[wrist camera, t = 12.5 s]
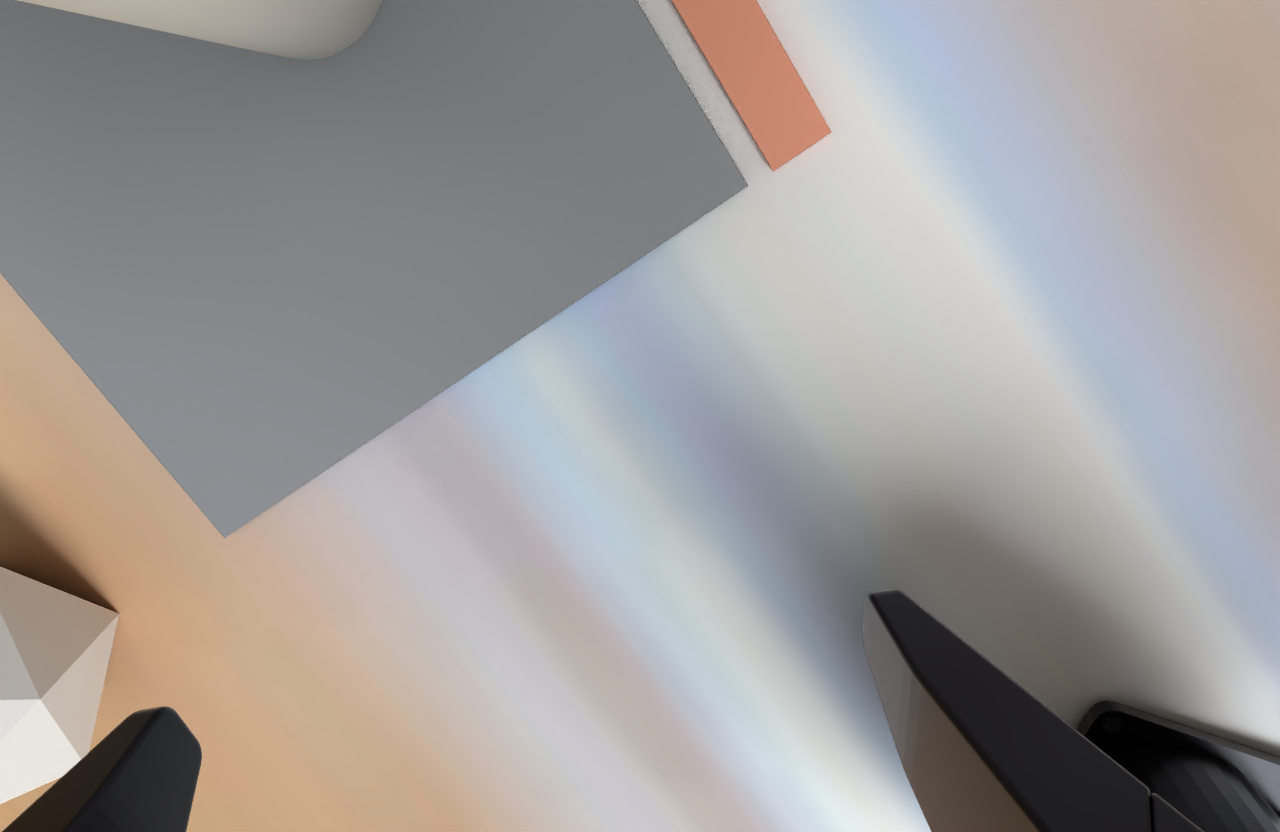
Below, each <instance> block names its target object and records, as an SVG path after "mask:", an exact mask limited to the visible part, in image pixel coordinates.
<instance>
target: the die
mask: <svg viewBox="0 0 1280 832" xmlns="http://www.w3.org/2000/svg"><path fill="white" fill-rule="evenodd" d="M118 617H119V613H116V612H114V611H111V610H109V609H106V608H104V607H101V606H99V605H96V604H94V603H91V602H89V601H86V600H84V599H81V598H78V597H76V596H73V595H71V594H68V593H66V592H63V591H61V590H58V589H56V588H53V587H51V586H48V585H46V584H43V583H41V582H38V581H36V580H33V579H31V578H28V577H25V576H23V575H20V574H18V573H15V572H13V571H10V570H8V569H5V568H3V567H0V804H1V803H4V802H6V801H8V800H10V799H13V798H15V797H17V796H19V795H22V794H24V793H26V792H28V791H31V790H33V789H35V788H37V787H40V786H42V785H44V784H46V783H49V782H51V781H53V780H55V779H58V778H60V777H62V776H64V775H65V774H66V773H67V772H68V771H69V770H70V769H71V768H72V767H73V766H75V765H76V764H77V763H78V762H79V761H80V760H81V759H82V758H83V757H84V756H86V755H87V754H88V753H89V749H90V744H91V740H92V735H93V731H94V726H95V722H96V717H97V713H98V708H99V704H100V699H101V695H102V690H103V685H104V681H105V676H106V672H107V667H108V663H109V658H110V654H111V649H112V645H113V640H114V636H115V631H116V626H117V622H118Z"/></svg>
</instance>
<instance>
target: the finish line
mask: <svg viewBox="0 0 1280 832" xmlns="http://www.w3.org/2000/svg"><path fill="white" fill-rule="evenodd" d="M672 2H673V3H674V5H675V7H676V8H677V10H678V12H679V13H680V15H681V17H682V18H683V20H684V22H685V23H686V25H687V27H688V29H689V30H690V32H691V34H692V35H693V37H694V39H695V40H696V42H697V44H698V45H699V47H700V49H701V50H702V52H703V54H704V55H705V57H706V59H707V61H708V62H709V64H710V66H711V67H712V69H713V71H714V72H715V74H716V76H717V77H718V79H719V81H720V82H721V84H722V86H723V87H724V89H725V91H726V93H727V94H728V96H729V98H730V99H731V101H732V103H733V104H734V106H735V108H736V109H737V111H738V113H739V114H740V116H741V118H742V119H743V121H744V123H745V125H746V126H747V128H748V130H749V131H750V133H751V135H752V136H753V138H754V140H755V141H756V143H757V145H758V146H759V148H760V150H761V151H762V153H763V155H764V157H765V158H766V160H767V162H768V163H769V165H770V167H771V168H772V170H773V171H774V170H776V169H777V168H779V167H780V166H782V165H783V164H785V163H786V162H788V161H789V160H791V159H792V158H794V157H795V156H797V155H798V154H800V153H801V152H803V151H804V150H806V149H807V148H809V147H810V146H812V145H813V144H815V143H816V142H817V141H819V140H820V139H822V138H823V137H825V136H826V135H828V134H829V133H831V131H830V129H829V127H828V125H827V124H826V122H825V120H824V118H823V117H822V115H821V113H820V111H819V110H818V108H817V106H816V104H815V103H814V101H813V99H812V97H811V96H810V94H809V92H808V90H807V88H806V87H805V85H804V83H803V81H802V80H801V78H800V76H799V74H798V73H797V71H796V69H795V67H794V66H793V64H792V62H791V60H790V59H789V57H788V55H787V53H786V52H785V50H784V48H783V46H782V45H781V43H780V41H779V39H778V38H777V36H776V34H775V32H774V31H773V29H772V27H771V25H770V24H769V22H768V20H767V18H766V17H765V15H764V13H763V11H762V10H761V8H760V6H759V4H758V3H757V1H756V0H672Z"/></svg>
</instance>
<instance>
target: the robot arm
mask: <svg viewBox="0 0 1280 832" xmlns="http://www.w3.org/2000/svg"><path fill="white" fill-rule="evenodd" d="M863 642H864V647H865V652H866V655H867V658H868V661H869V664H870V667H871V671H872V674H873V677H874V680H875V683H876V686H877V689H878V692H879V695H880V698H881V702H882V705H883V708H884V711H885V714H886V717H887V720H888V723H889V726H890V729H891V732H892V736H893V739H894V742H895V745H896V748H897V751H898V754H899V757H900V760H901V762H902V765H903V768H904V770H905V773H906V775H907V778H908V780H909V782H910V785H911V787H912V789H913V792H914V794H915V796H916V798H917V800H918V803H919V805H920V807H921V809H922V812H923V814H924V816H925V818H926V821H927V823H928V825H929V827H930V829H931V832H1280V758H1279V757H1276V756H1273V755H1270V754H1267V753H1264V752H1261V751H1258V750H1255V749H1252V748H1250V747H1247V746H1244V745H1241V744H1238V743H1235V742H1232V741H1229V740H1226V739H1223V738H1220V737H1217V736H1214V735H1211V734H1208V733H1205V732H1202V731H1199V730H1196V729H1193V728H1190V727H1187V726H1184V725H1181V724H1179V723H1176V722H1173V721H1170V720H1167V719H1164V718H1161V717H1158V716H1155V715H1152V714H1149V713H1146V712H1143V711H1140V710H1137V709H1134V708H1131V707H1128V706H1125V705H1122V704H1119V703H1116V702H1112V701H1104V702H1099V703H1097V704H1095V705H1094V706H1093V707H1092V708H1091V709H1090V710H1089V712H1088V713H1087V715H1086V716H1085V718H1084V719H1083V721H1082V722H1081V724H1080V725H1079V727H1078V728H1077V730H1075V729H1074V728H1073V727H1072V726H1070V725H1069V724H1068V723H1067V722H1065V721H1064V720H1063V719H1062V718H1060V717H1059V716H1058V715H1056V714H1055V713H1054V712H1053V711H1051V710H1050V709H1049V708H1048V707H1046V706H1045V705H1044V704H1043V703H1041V702H1040V701H1039V700H1038V699H1036V698H1035V697H1034V696H1033V695H1031V694H1030V693H1029V692H1028V691H1026V690H1025V689H1024V688H1023V687H1021V686H1020V685H1019V684H1018V683H1016V682H1015V681H1014V680H1013V679H1011V678H1010V677H1009V676H1008V675H1006V674H1005V673H1004V672H1003V671H1001V670H1000V669H999V668H998V667H996V666H995V665H994V664H993V663H991V662H990V661H989V660H988V659H986V658H985V657H984V656H983V655H981V654H980V653H979V652H978V651H976V650H975V649H974V648H973V647H971V646H970V645H969V644H968V643H966V642H965V641H964V640H962V639H961V638H960V637H959V636H957V635H956V634H955V633H954V632H952V631H951V630H950V629H949V628H947V627H946V626H945V625H944V624H942V623H941V622H940V621H939V620H937V619H936V618H935V617H934V616H932V615H931V614H930V613H929V612H927V611H926V610H925V609H924V608H922V607H921V606H920V605H919V604H917V603H916V602H915V601H914V600H912V599H911V598H910V597H909V596H907V595H906V594H905V593H904V592H902V591H901V590H898V589H886V590H879V591H873V592H869V593H868V594H867V595H866V597H865V600H864V620H863ZM1112 717H1113V718H1115V719H1113V720H1112V721H1110V722H1104V721H1105V720H1106V719H1108V718H1112ZM201 759H202V753H201V747H200V744H199V742H198V740H197V739H196V738H195V736H194V735H193V734H192V732H191V731H190V730H189V728H188V727H187V726H186V724H185V723H184V722H183V720H182V719H181V718H180V716H179V715H178V714H177V712H176V711H175V710H174V709H172V708H170V707H158V708H151V709H145V710H140V711H137V712H135V713H133V714H131V715H130V716H129V717H127V718H126V719H125V720H124V721H123V722H122V723H121V724H120V725H118V726H117V727H116V728H115V729H114V730H113V731H112V732H111V733H110V734H109V735H107V736H106V737H105V738H104V739H103V740H102V741H101V742H100V743H99V744H98V745H97V746H95V747H94V748H93V749H92V750H91V751H90V752H89V753H88V754H87V755H86V756H84V757H83V758H82V759H81V760H80V761H79V762H78V763H77V764H76V765H75V766H73V767H72V768H71V769H70V770H69V771H68V772H67V773H66V774H65V775H64V776H63V777H61V778H60V779H59V780H58V781H57V782H56V783H55V784H54V785H53V786H52V787H50V788H49V789H48V790H47V791H46V792H45V793H44V794H43V795H42V796H41V797H39V798H38V799H37V800H36V801H35V802H34V803H33V804H32V805H31V806H30V807H29V808H27V809H26V810H25V811H24V812H23V813H22V814H21V815H20V816H19V817H18V818H16V819H15V820H14V821H13V822H12V823H11V824H10V825H9V826H8V827H7V828H5V829H4V830H3V831H2V832H186V830H187V825H188V821H189V816H190V812H191V807H192V802H193V798H194V793H195V789H196V784H197V780H198V775H199V770H200V766H201Z"/></svg>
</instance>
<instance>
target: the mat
mask: <svg viewBox="0 0 1280 832" xmlns="http://www.w3.org/2000/svg"><path fill="white" fill-rule="evenodd" d="M747 186H748V185H747V183H746V182H745V180H744V178H743V177H742V175H741V173H740V172H739V170H738V168H737V167H736V165H735V163H734V162H733V160H732V158H731V157H730V155H729V153H728V152H727V150H726V148H725V147H724V145H723V143H722V142H721V140H720V138H719V137H718V135H717V133H716V132H715V130H714V129H713V127H712V125H711V124H710V122H709V120H708V119H707V117H706V115H705V114H704V112H703V110H702V109H701V107H700V105H699V104H698V102H697V100H696V99H695V97H694V95H693V94H692V92H691V90H690V89H689V87H688V85H687V84H686V82H685V80H684V79H683V77H682V76H681V74H680V72H679V71H678V69H677V67H676V66H675V64H674V62H673V61H672V59H671V57H670V56H669V54H668V52H667V51H666V49H665V47H664V46H663V44H662V42H661V41H660V39H659V37H658V36H657V34H656V32H655V31H654V29H653V27H652V26H651V24H650V23H649V21H648V19H647V18H646V16H645V14H644V13H643V11H642V9H641V8H640V6H639V4H638V3H637V1H636V0H382V3H381V5H380V8H379V10H378V12H377V14H376V16H375V18H374V19H373V21H372V23H371V25H370V26H369V27H368V28H367V30H366V31H365V32H364V34H363V35H362V36H361V37H360V38H359V39H358V40H357V41H355V42H354V43H353V44H352V45H350V46H349V47H348V48H346V49H345V50H343V51H341V52H339V53H337V54H335V55H333V56H329V57H326V58H323V59H316V60H296V59H291V58H285V57H281V56H276V55H271V54H267V53H262V52H257V51H253V50H248V49H243V48H239V47H234V46H229V45H224V44H220V43H215V42H210V41H206V40H201V39H196V38H192V37H187V36H182V35H177V34H173V33H168V32H163V31H159V30H154V29H149V28H145V27H140V26H135V25H131V24H126V23H121V22H116V21H112V20H107V19H102V18H98V17H93V16H88V15H84V14H79V13H74V12H69V11H65V10H60V9H55V8H51V7H46V6H41V5H37V4H32V3H27V2H23V1H18V0H0V273H1V275H2V276H3V277H4V278H5V279H6V281H7V282H8V283H9V284H10V285H11V286H12V288H13V289H14V290H15V291H16V292H17V294H18V295H19V296H20V297H21V298H22V299H23V301H24V302H25V303H26V304H27V305H28V307H29V308H30V309H31V310H32V311H33V312H34V314H35V315H36V316H37V317H38V318H39V320H40V321H41V322H42V323H43V324H44V325H45V327H46V328H47V329H48V330H49V331H50V333H51V334H52V335H53V336H54V337H55V338H56V340H57V341H58V342H59V343H60V344H61V345H62V347H63V348H64V349H65V350H66V351H67V353H68V354H69V355H70V356H71V357H72V358H73V360H74V361H75V362H76V363H77V364H78V366H79V367H80V368H81V369H82V370H83V371H84V373H85V374H86V375H87V376H88V377H89V379H90V380H91V381H92V382H93V383H94V384H95V386H96V387H97V388H98V389H99V390H100V392H101V393H102V394H103V395H104V396H105V397H106V399H107V400H108V401H109V402H110V403H111V405H112V406H113V407H114V408H115V409H116V410H117V412H118V413H119V414H120V415H121V416H122V418H123V419H124V420H125V421H126V422H127V423H128V425H129V426H130V427H131V428H132V429H133V431H134V432H135V433H136V434H137V435H138V436H139V438H140V439H141V440H142V441H143V442H144V444H145V445H146V446H147V447H148V448H149V449H150V451H151V452H152V453H153V454H154V455H155V457H156V458H157V459H158V460H159V461H160V462H161V464H162V465H163V466H164V467H165V468H166V470H167V471H168V472H169V473H170V474H171V475H172V477H173V478H174V479H175V480H176V481H177V483H178V484H179V485H180V486H181V487H182V488H183V490H184V491H185V492H186V493H187V494H188V496H189V497H190V498H191V499H192V500H193V501H194V503H195V504H196V505H197V506H198V507H199V509H200V510H201V511H202V512H203V513H204V514H205V516H206V517H207V518H208V519H209V520H210V522H211V523H212V524H213V525H214V526H215V527H216V529H217V530H218V531H219V532H220V533H221V535H222V536H223V537H224V538H226V537H227V536H229V535H230V534H232V533H233V532H235V531H236V530H238V529H239V528H241V527H242V526H244V525H245V524H246V523H248V522H249V521H251V520H252V519H254V518H255V517H257V516H258V515H260V514H261V513H263V512H264V511H266V510H267V509H269V508H270V507H272V506H273V505H275V504H276V503H278V502H279V501H281V500H282V499H284V498H285V497H287V496H288V495H290V494H291V493H293V492H294V491H295V490H297V489H298V488H300V487H301V486H303V485H304V484H306V483H307V482H309V481H310V480H312V479H313V478H315V477H316V476H318V475H319V474H321V473H322V472H324V471H325V470H327V469H328V468H330V467H331V466H333V465H334V464H336V463H337V462H339V461H340V460H342V459H343V458H345V457H346V456H347V455H349V454H350V453H352V452H353V451H355V450H356V449H358V448H359V447H361V446H362V445H364V444H365V443H367V442H368V441H370V440H371V439H373V438H374V437H376V436H377V435H379V434H380V433H382V432H383V431H385V430H386V429H388V428H389V427H391V426H392V425H394V424H395V423H396V422H398V421H399V420H401V419H402V418H404V417H405V416H407V415H408V414H410V413H411V412H413V411H414V410H416V409H417V408H419V407H420V406H422V405H423V404H425V403H426V402H428V401H429V400H431V399H432V398H434V397H435V396H437V395H438V394H440V393H441V392H443V391H444V390H446V389H447V388H448V387H450V386H451V385H453V384H454V383H456V382H457V381H459V380H460V379H462V378H463V377H465V376H466V375H468V374H469V373H471V372H472V371H474V370H475V369H477V368H478V367H480V366H481V365H483V364H484V363H486V362H487V361H489V360H490V359H492V358H493V357H495V356H496V355H497V354H499V353H500V352H502V351H503V350H505V349H506V348H508V347H509V346H511V345H512V344H514V343H515V342H517V341H518V340H520V339H521V338H523V337H524V336H526V335H527V334H529V333H530V332H532V331H533V330H535V329H536V328H538V327H539V326H541V325H542V324H544V323H545V322H546V321H548V320H549V319H551V318H552V317H554V316H555V315H557V314H558V313H560V312H561V311H563V310H564V309H566V308H567V307H569V306H570V305H572V304H573V303H575V302H576V301H578V300H579V299H581V298H582V297H584V296H585V295H587V294H588V293H590V292H591V291H593V290H594V289H596V288H597V287H598V286H600V285H601V284H603V283H604V282H606V281H607V280H609V279H610V278H612V277H613V276H615V275H616V274H618V273H619V272H621V271H622V270H624V269H625V268H627V267H628V266H630V265H631V264H633V263H634V262H636V261H637V260H639V259H640V258H642V257H643V256H645V255H646V254H647V253H649V252H650V251H652V250H653V249H655V248H656V247H658V246H659V245H661V244H662V243H664V242H665V241H667V240H668V239H670V238H671V237H673V236H674V235H676V234H677V233H679V232H680V231H682V230H683V229H685V228H686V227H688V226H689V225H691V224H692V223H694V222H695V221H697V220H698V219H699V218H701V217H702V216H704V215H705V214H707V213H708V212H710V211H711V210H713V209H714V208H716V207H717V206H719V205H720V204H722V203H723V202H725V201H726V200H728V199H729V198H731V197H732V196H734V195H735V194H737V193H738V192H740V191H741V190H743V189H744V188H746V187H747Z"/></svg>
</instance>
